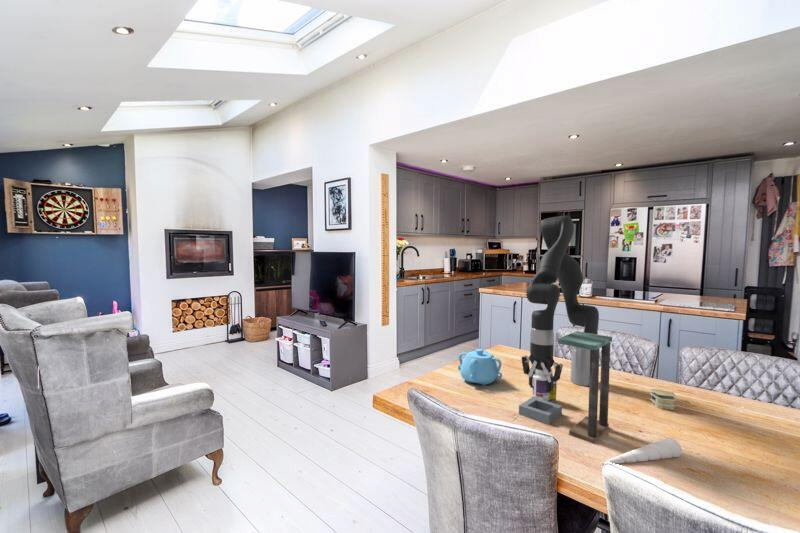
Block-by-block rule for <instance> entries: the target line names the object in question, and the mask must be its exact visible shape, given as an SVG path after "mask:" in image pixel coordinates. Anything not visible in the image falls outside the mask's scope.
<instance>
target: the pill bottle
mask: <svg viewBox="0 0 800 533" xmlns="http://www.w3.org/2000/svg"><path fill="white" fill-rule="evenodd" d="M547 382H548V380H547V377H546V376H545V374H544V371H543V370H539V369H535V374H534V375H533V388H532V397H535V398H538V399H547V398H549V393H548V392H547Z"/></svg>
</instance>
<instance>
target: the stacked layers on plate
mask: <svg viewBox="0 0 800 533" xmlns="http://www.w3.org/2000/svg"><path fill="white" fill-rule="evenodd" d="M650 391H652V392H650V395H651V396H650V398H649V399H650V401H652V402H653V403H654V404H655V406H654V407H655V408H657V409H660V410H664V409H665V410H669V409H670V411H675V407H676V406H677V405H676V404H675V401H676V398H675V397H676V395H675V392H672V391H668V390H663V389H657V388H651V389H650Z"/></svg>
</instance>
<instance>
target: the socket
mask: <svg viewBox="0 0 800 533" xmlns="http://www.w3.org/2000/svg"><path fill="white" fill-rule="evenodd" d="M562 413H563V405H560V404H557V403H555V402H554V403H551V402H548V401H545V400H541V399H538V398H535V397H534V396H532V397H531V398H529V399H527V400H526V401H524V402H523V403H521V404H519V405H518V415H520V416H523V417H526V418H529V419H532V420H535V421H538V422H540V423H543V424H546V425H550V424H551V423H552V422H554V421H555V420H557V419H558V418H559V417H561V416H562V415H563V414H562Z"/></svg>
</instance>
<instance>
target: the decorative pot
mask: <svg viewBox="0 0 800 533" xmlns="http://www.w3.org/2000/svg"><path fill="white" fill-rule="evenodd" d="M462 356H464V358H463V359H462ZM458 361H459V364H458V366H457V370H458V371H459V374H460V376H461V378H462V379H463V380H465V381H466V382H467V383H474V384H480V385H481V386H487V385H490V384H492V383H493V382H495V381H496V379H497V380H498V379H499V380H501V379H502V378H503V373H502V372H500V371H501V368H502V361H501V359H500V358H498V357H495V356H494V354H493V353H490V352H488V351H486V350H484V349H482V348H477V349H475V350H471V351H470V352H461V353H459V355H458Z"/></svg>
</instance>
